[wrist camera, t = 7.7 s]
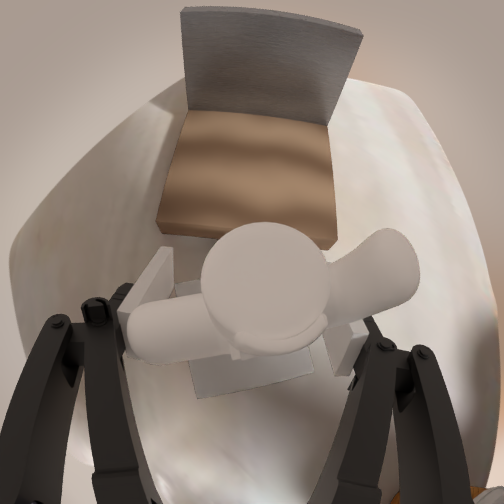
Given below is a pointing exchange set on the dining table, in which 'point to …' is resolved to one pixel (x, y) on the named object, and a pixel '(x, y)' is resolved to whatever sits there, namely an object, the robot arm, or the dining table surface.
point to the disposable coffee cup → (476, 495)
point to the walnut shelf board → (249, 177)
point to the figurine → (269, 305)
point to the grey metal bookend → (265, 62)
